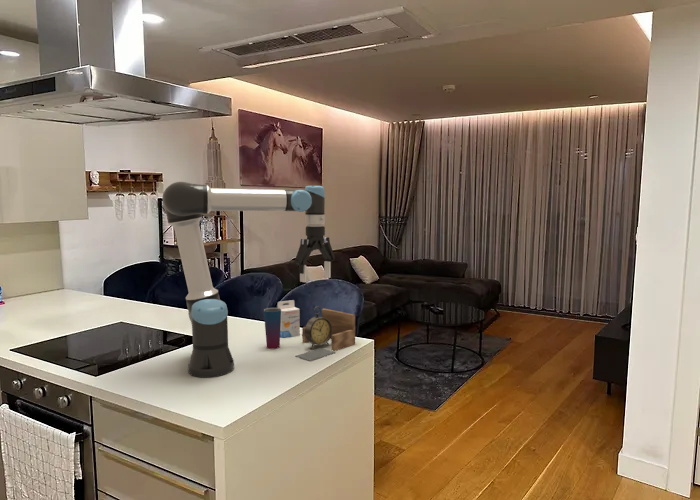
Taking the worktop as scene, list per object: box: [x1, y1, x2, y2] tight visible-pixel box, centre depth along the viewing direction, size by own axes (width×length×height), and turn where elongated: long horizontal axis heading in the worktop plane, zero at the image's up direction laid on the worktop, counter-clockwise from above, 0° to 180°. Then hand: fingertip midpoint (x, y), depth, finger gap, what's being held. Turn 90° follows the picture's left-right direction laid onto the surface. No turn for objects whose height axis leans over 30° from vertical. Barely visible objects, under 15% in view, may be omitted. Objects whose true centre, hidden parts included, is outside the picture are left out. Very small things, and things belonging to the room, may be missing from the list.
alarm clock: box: [304, 306, 332, 350], centre depth 193 cm, size 11×5×16 cm, turn 133°
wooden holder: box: [301, 308, 356, 352], centre depth 198 cm, size 12×18×12 cm
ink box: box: [277, 299, 301, 339], centre depth 210 cm, size 8×5×15 cm, turn 123°
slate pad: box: [294, 347, 336, 362], centre depth 184 cm, size 13×8×1 cm, turn 138°
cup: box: [263, 307, 281, 350], centre depth 193 cm, size 7×7×15 cm
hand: (315, 279), depth 193 cm, fingers open, 13 cm apart
